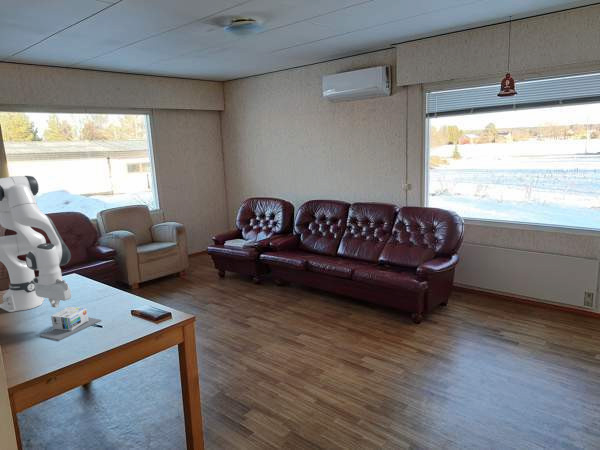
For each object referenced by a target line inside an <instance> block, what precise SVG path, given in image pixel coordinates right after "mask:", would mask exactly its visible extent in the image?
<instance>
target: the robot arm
mask: <svg viewBox="0 0 600 450" xmlns="http://www.w3.org/2000/svg"><path fill="white" fill-rule="evenodd" d="M39 189H40V187H39V183H38V181H37V179H36V178H35V176H32V175H24V176H22V175H21V176H20V175H18V176H16V175H15V176H9V177H7V176H6V177H1V178H0V225H1V227H2V228H4V229H7V230H11V231H14V232H16V234H12V235H4V236H0V262H1V263H2V264H3V265H4V266H5V268H6V270H7V273H8V276H9V280H10V282H9V283H8V287H9V289H8V290H7V291H6V292H5V293H4V294H3V296H2V303H0V309H1V310H4V311H6V312H8V313H13V312H19V311H27V310H30V309H34V308H37V307H39V306H41V305H42V304H44V301H45V299H48V302H49V303H50V306H51V308H55V309H57V308H59V307H60V301H62V302H63V301H64V302H65V301H69V300H70V299H71V298H72V291H71V288H70V286H69V284H68V282H66V280H63V274H62V269H61V266H66V265H67V264H68V263H69V262H70V260H71V258H72V253H71V251H70V249H69V247H68V246H67V245H66V243H65V241H64V240H63V238H62V236H61V234H60V233H59V231H58V229H57V228H56V225H55V224H54V221H53V220H52V219H51V218H50V216H49V215H48V214H45V213H44V212H43V211H42V210H41V209H40V208H39V206H38V203H37V201H36V200H37V199H36V198H35V196H36V195H37V194H38V193H39ZM33 228H37V229H39V230H42V231H43V232H45V233H46V235H47V237H48V240H49V241H50V242H49V243H48V242H47V240H46V238H45V236H44V235H43V234H42V233H40V232H38V231H36V230H34V229H33ZM25 255H26V256H25ZM18 256H25V260H21V259H19V258H18ZM35 271H38V276H36V274H35Z"/></svg>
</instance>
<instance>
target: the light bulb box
mask: <svg viewBox="0 0 600 450" xmlns="http://www.w3.org/2000/svg"><path fill="white" fill-rule="evenodd" d="M88 315H89V314H88V309H87V308H85V307H78V306H77V307H76V306H67V307H65V308H63V309H62V310H60V311H58V312H55V313H54V314H52V315H51V316H50V319H51V325H52V330H54V329H60V330H68V331H73V330H74V329H76V328H77V327H79V326H80V325H82V324H84V323H85V322H87V321H88V317H89V316H88Z"/></svg>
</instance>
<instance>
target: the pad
mask: <svg viewBox="0 0 600 450" xmlns="http://www.w3.org/2000/svg"><path fill="white" fill-rule="evenodd" d="M100 322H102V319H98V318H94V317H89V316H88V321H87V322H85V323H84V324H82V325H80V326H79V327H77V328H76V329H74V330H73V331H68V330H60V329H52V330H50V331H47V332H46V333H43V334H41V335H40V337H41V338H45V339H48V340H49V339H50V340H54V341H58V342H60V341H62V340H64V339H66V338H68V337H70V336H72V335H75V334H76V333H78V332H81V331H83V330H85V329H87V328H90V327H92V326H93V325H96V324H98V323H100Z"/></svg>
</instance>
